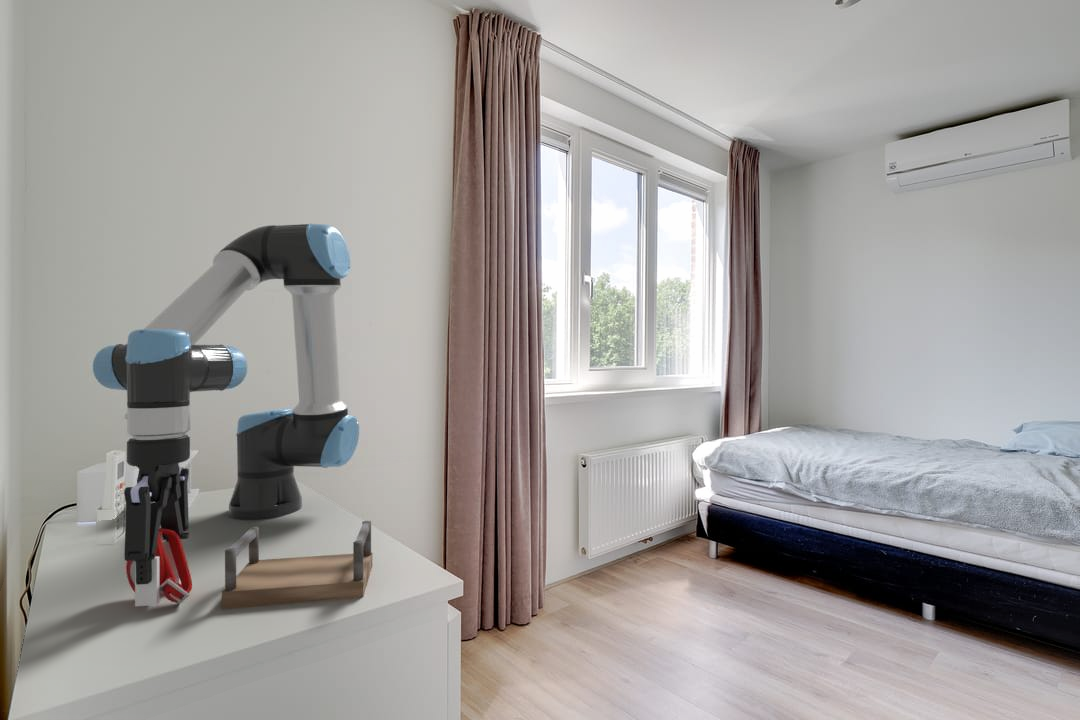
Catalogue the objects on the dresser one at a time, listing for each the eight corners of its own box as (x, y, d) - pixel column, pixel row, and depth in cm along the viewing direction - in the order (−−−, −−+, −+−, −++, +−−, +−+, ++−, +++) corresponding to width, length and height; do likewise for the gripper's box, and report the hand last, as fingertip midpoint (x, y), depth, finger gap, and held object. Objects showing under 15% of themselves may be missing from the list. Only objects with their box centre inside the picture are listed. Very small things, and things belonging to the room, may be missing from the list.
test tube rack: (184, 516, 121) (184, 457, 121) (160, 519, 119) (160, 458, 119) (199, 491, 143) (198, 441, 143) (179, 493, 142) (179, 442, 141)
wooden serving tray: (250, 575, 88) (250, 526, 88) (372, 567, 91) (372, 519, 91) (222, 609, 76) (221, 553, 76) (363, 598, 80) (363, 544, 80)
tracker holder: (116, 599, 79) (119, 530, 80) (147, 588, 83) (150, 522, 84) (174, 612, 75) (176, 539, 75) (204, 600, 79) (206, 531, 79)
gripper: (162, 427, 88) (162, 570, 88) (88, 446, 69) (89, 628, 69) (213, 426, 89) (213, 567, 89) (154, 445, 70) (155, 623, 70)
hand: (159, 593), depth 79 cm, fingers closed on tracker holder, 6 cm apart
